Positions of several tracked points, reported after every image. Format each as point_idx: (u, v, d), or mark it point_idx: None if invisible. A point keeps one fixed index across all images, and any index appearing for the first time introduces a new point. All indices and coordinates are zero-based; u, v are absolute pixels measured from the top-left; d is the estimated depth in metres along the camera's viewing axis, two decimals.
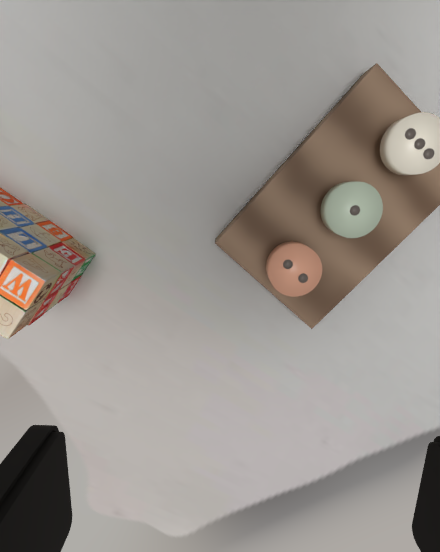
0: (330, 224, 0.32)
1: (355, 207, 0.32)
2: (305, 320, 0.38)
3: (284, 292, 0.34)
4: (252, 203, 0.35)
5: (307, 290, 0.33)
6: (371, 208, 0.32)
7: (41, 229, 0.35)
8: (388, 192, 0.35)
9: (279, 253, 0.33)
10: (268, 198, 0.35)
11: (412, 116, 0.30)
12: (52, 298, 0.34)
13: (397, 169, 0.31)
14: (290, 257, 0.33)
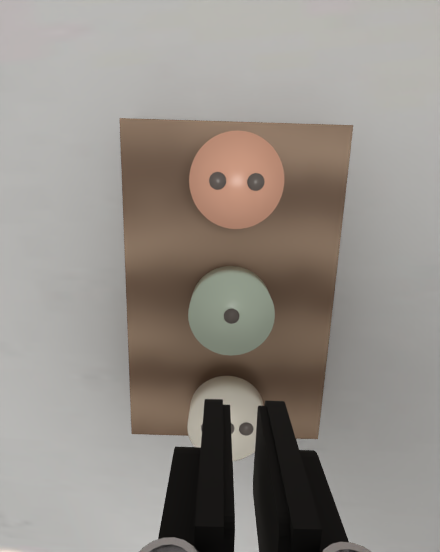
0: (245, 277, 0.20)
1: (233, 319, 0.20)
2: (139, 122, 0.21)
3: (224, 137, 0.18)
4: (340, 216, 0.23)
5: (195, 168, 0.18)
6: (213, 333, 0.21)
7: None
8: (195, 352, 0.25)
9: (280, 186, 0.19)
10: (324, 238, 0.23)
11: None
12: None
13: (222, 388, 0.22)
14: (259, 193, 0.19)
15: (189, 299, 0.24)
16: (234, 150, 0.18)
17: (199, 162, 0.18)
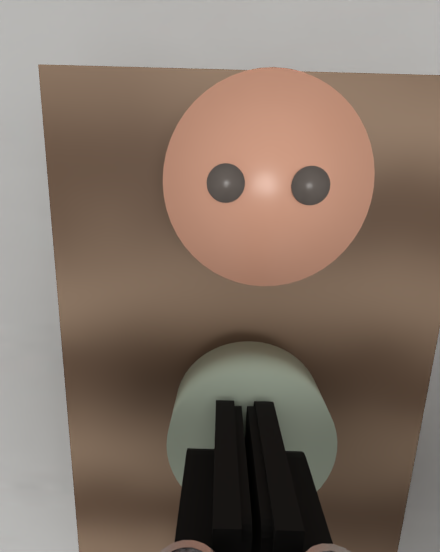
0: (280, 377, 0.10)
1: None
2: (76, 73, 0.11)
3: (242, 83, 0.08)
4: None
5: (176, 156, 0.08)
6: None
7: None
8: None
9: (364, 195, 0.08)
10: (418, 288, 0.13)
11: None
12: None
13: None
14: (317, 211, 0.09)
15: (174, 390, 0.14)
16: (264, 114, 0.08)
17: (185, 142, 0.08)
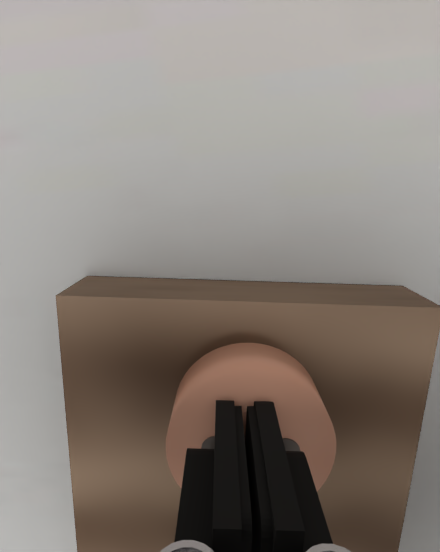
0: None
1: None
2: (89, 302, 0.13)
3: (229, 382, 0.10)
4: (415, 437, 0.14)
5: (176, 430, 0.10)
6: None
7: None
8: None
9: (328, 457, 0.10)
10: (388, 467, 0.14)
11: None
12: None
13: None
14: None
15: None
16: (247, 403, 0.10)
17: (183, 420, 0.10)
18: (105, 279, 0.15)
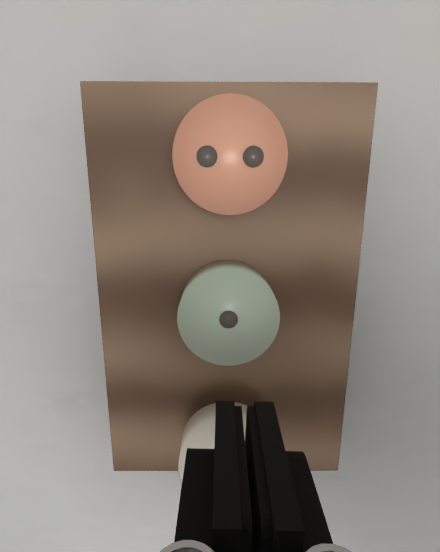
0: (243, 273, 0.17)
1: (231, 323, 0.17)
2: (106, 86, 0.17)
3: (213, 101, 0.15)
4: (363, 200, 0.18)
5: (179, 142, 0.15)
6: (208, 340, 0.17)
7: None
8: (186, 371, 0.20)
9: (283, 160, 0.15)
10: (343, 228, 0.18)
11: None
12: None
13: None
14: (258, 170, 0.15)
15: (177, 308, 0.19)
16: (226, 118, 0.15)
17: (184, 134, 0.15)
18: None
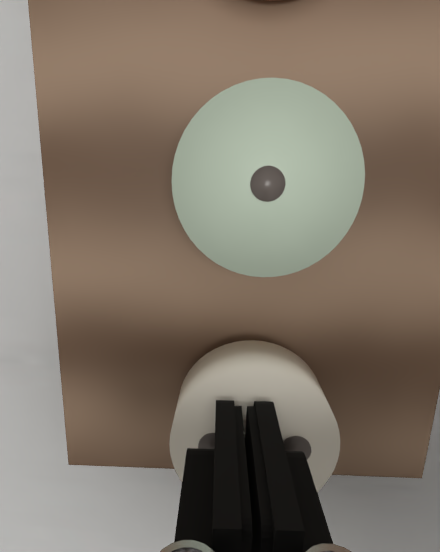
0: (301, 87, 0.09)
1: (272, 193, 0.09)
2: None
3: None
4: None
5: None
6: (228, 225, 0.09)
7: None
8: (186, 304, 0.12)
9: None
10: None
11: (322, 479, 0.11)
12: None
13: (245, 362, 0.10)
14: None
15: None
16: None
17: None
18: None
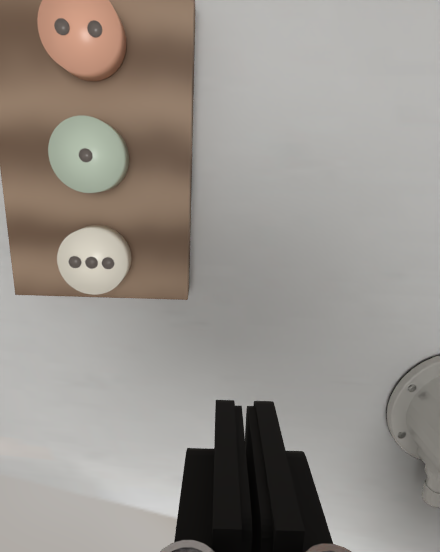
0: (94, 119, 0.23)
1: (88, 159, 0.24)
2: None
3: None
4: (190, 79, 0.25)
5: (42, 15, 0.22)
6: (72, 171, 0.24)
7: None
8: (67, 212, 0.27)
9: (116, 33, 0.22)
10: (177, 100, 0.25)
11: (121, 276, 0.26)
12: None
13: (87, 228, 0.26)
14: (99, 40, 0.22)
15: None
16: None
17: (45, 9, 0.22)
18: None
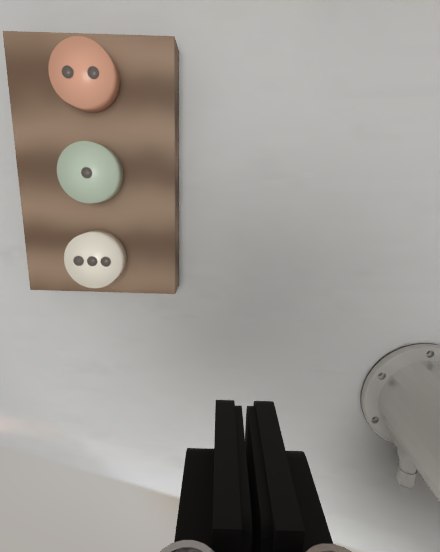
0: (93, 143, 0.29)
1: (88, 175, 0.29)
2: (17, 34, 0.29)
3: (69, 40, 0.27)
4: (173, 108, 0.30)
5: (52, 63, 0.27)
6: (75, 186, 0.30)
7: None
8: (73, 219, 0.33)
9: (110, 75, 0.28)
10: (162, 126, 0.31)
11: (116, 273, 0.31)
12: None
13: (88, 232, 0.31)
14: (96, 81, 0.28)
15: None
16: (77, 50, 0.27)
17: (54, 58, 0.27)
18: None
